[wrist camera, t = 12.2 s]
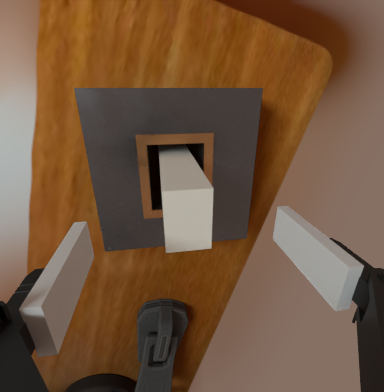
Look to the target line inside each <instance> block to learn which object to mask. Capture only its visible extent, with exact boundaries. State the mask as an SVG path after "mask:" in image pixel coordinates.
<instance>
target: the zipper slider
mask: <svg viewBox="0 0 384 392" xmlns="http://www.w3.org/2000/svg"><path fill="white" fill-rule="evenodd" d="M187 325H188V316H187V311H186V308H185V305H184V303H183V302H180V301H176V300H173V299H157V300H152V301H148V302H145V303H144V305H143V306H142V307H141V309H140V310H139V312H138V318H137V332H138V361H139V362H142V363H141V367H140V372H139V376H138V380H137V384H136V388H135V392H171V386H172V375H173V365H174V359H175V354H176V351H177V349H178V346H179V344H180V341H181V339H182V336H183V334H184V332H185V329H186V327H187Z"/></svg>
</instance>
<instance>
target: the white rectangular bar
mask: <svg viewBox="0 0 384 392" xmlns="http://www.w3.org/2000/svg"><path fill="white" fill-rule="evenodd" d="M158 149H159V165H160V181H161V194H162V208H163V221H164V234H165V248H166V253H170V252H180V251H191V250H201V249H211V245H212V217H213V189H214V188H213V187H212V185H211V184H210V182H209V180H208V179H207V177H206V176H205V174H204V173H203V171H202V170H201V168H200V167H199V165H198V163H197V162H196V160H195V159H194V157H193V156H192V154H191V153H190V151H189V149H188V148H187V146H186V145H185V144H173V145H158Z"/></svg>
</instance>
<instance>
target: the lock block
mask: <svg viewBox="0 0 384 392" xmlns="http://www.w3.org/2000/svg"><path fill="white" fill-rule="evenodd" d="M74 89H75V95H76V100H77V105H78V110H79V116H80V121H81V126H82V131H83V137H84V142H85V147H86V152H87V158H88V163H89V168H90V173H91V179H92V184H93V189H94V194H95V200H96V205H97V210H98V215H99V221H100V226H101V231H102V236H103V242H104V247H105V251H115V250H126V249H137V248H148V247H158V246H165V234H164V221H163V208H162V194H161V190H152V179H151V166H150V154H149V145H161V144H191V143H195V160H196V162H197V163H198V165H199V167H200V168H201V170H202V171H203V173H204V174H205V176H206V177H207V179H208V180H209V182H210V184H211V185H212V187H213V188H214V189H213V217H212V241H223V240H234V239H245V238H247V231H248V221H249V212H250V203H251V194H252V184H253V175H254V166H255V157H256V147H257V138H258V129H259V120H260V110H261V101H262V92H263V88H74Z"/></svg>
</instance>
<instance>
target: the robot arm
mask: <svg viewBox="0 0 384 392" xmlns="http://www.w3.org/2000/svg"><path fill="white" fill-rule="evenodd" d="M273 240H274V241H275V242H276V243H277V244H278V246H279V247H280V248H281V249H282V250H283V251H284V252H285V253H286V255H287V256H288V257H289V258H290V259H291V261H292V262H293V263H294V264H295V265H296V266H297V268H298V269H299V270H300V271H301V272H302V273H303V274H304V276H306V278H307V279H308V280H309V281H310V283H311V284H312V285H313V286H314V287H315V288H316V289H317V291H318V292H319V293H320V294H321V295H322V296H323V297H324V299H325V300H326V301H327V302H328V303H329V304H330V306H331V307H332V308H333V309H334V310H335V311H339V310H346V309H349V307H350V304H351V301H352V300H353V301H354V302H355V303H356V304H357V305H358V307H357V309H356V312H355V315H354V318H353V321H352V322H353V323H355V321H356V320H357V335H358V351H359V366H360V367H359V368H360V383H361V392H384V269H381V268H373V267H372V266H371V265H369V264H368V263H367V262H366V261H364V260H363V259H361V258H360V257H359V256H358V255H356V254H354V253H353V252H352V251H351V250H350V249H348V248H347V247H346V246H344V245H343V244H342V243H340V242H338V241H336V240H334V239H332V238H328V237H327V236H325V235H324V234H323V233H322V232H320V231H319V230H318V229H316V228H315V227H314V226H313V225H311V224H310V223H309V222H307V221H306V220H305V219H304V218H302V217H301V216H300V215H299V214H297V213H296V212H295V211H293V210H292V209H291V208H290V207H288V206H279V207H277V214H276V221H275V227H274V234H273ZM93 259H94V253H93V248H92V244H91V239H90V234H89V229H88V225H87V222H74V224H73V225H72V227H71V228H70V230H69V231H68V233H67V235H66V236H65V238H64V239H63V241H62V242H61V244H60V246H59V247H58V249H57V250H56V252H55V253H54V255H53V257H52V258H51V260H50V261H49V263H48V264H47V266H46V268H42V269H35V270H34V271H32V272H31V273H30V274H29V275H27V276H26V277H25V279H24V280H23V281H22V283H21V284H20V287H18V288H17V290H16V291H15V294H13V295H12V297H11V298H10V300H9V301H8V302H7V304H5V303H4V302H3V301H0V392H49V391H48V389H47V387H46V385H45V383H44V381H43V379H42V377H41V375H40V373H39V371H38V369H37V367H36V365H35V363H34V361H33V359H32V357H31V355H32V353H33V351H34V349H35V350H36V352H37V355H38V357H43V356H49V355H55V354H58V353H59V350H60V348H61V345H62V342H63V339H64V337H65V334H66V331H67V329H68V326H69V323H70V321H71V318H72V315H73V313H74V310H75V307H76V304H77V302H78V299H79V296H80V294H81V291H82V288H83V286H84V283H85V280H86V277H87V275H88V272H89V269H90V267H91V264H92V261H93ZM135 388H136V385H135V384H134V383H133V382H132V381H130V380H129V379H127V378H124V377H121V376H117V375H95V376H90V377H86V378H83V379H81V380H79V381H77V382H75V383H73V384H72V385H71V386H69V387H68V388H67V390H66V391H65V392H135Z"/></svg>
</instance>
